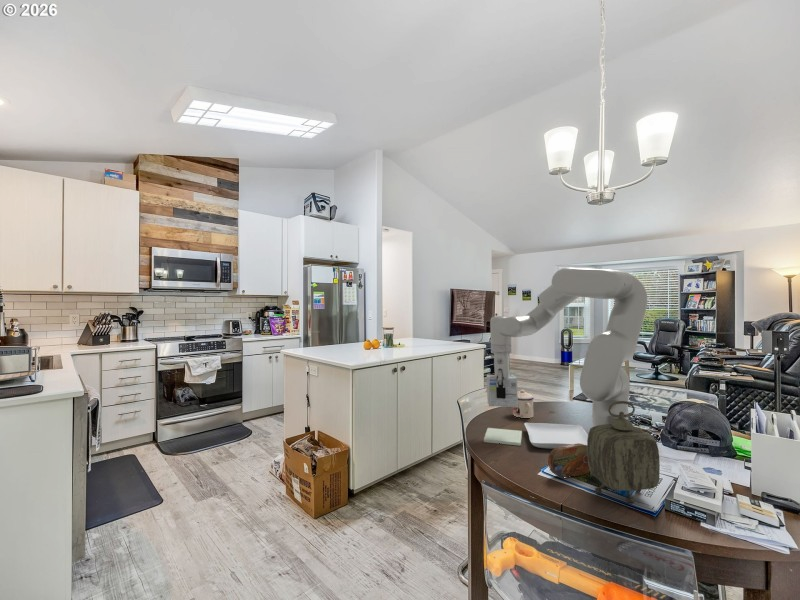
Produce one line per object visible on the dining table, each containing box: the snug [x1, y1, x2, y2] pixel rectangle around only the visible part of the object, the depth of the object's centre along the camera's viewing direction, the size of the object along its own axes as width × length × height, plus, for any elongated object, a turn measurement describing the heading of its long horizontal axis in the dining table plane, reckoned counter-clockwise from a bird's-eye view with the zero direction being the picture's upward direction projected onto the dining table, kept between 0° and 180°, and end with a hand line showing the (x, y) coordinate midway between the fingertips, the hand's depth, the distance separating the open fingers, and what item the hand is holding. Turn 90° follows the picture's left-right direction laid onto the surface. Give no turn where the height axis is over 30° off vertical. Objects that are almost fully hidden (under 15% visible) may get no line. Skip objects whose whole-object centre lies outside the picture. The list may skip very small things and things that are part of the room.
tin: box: [547, 443, 591, 479], centre depth 111 cm, size 15×3×8 cm, turn 106°
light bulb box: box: [486, 374, 518, 408], centre depth 142 cm, size 11×7×11 cm, turn 84°
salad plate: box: [523, 422, 588, 450], centre depth 137 cm, size 21×21×3 cm
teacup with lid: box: [512, 389, 534, 419], centre depth 166 cm, size 12×9×12 cm
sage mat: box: [483, 427, 523, 446], centre depth 142 cm, size 13×13×1 cm
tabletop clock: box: [587, 401, 661, 504], centre depth 97 cm, size 14×9×25 cm, turn 92°
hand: (502, 395), depth 142 cm, fingers closed on light bulb box, 7 cm apart
